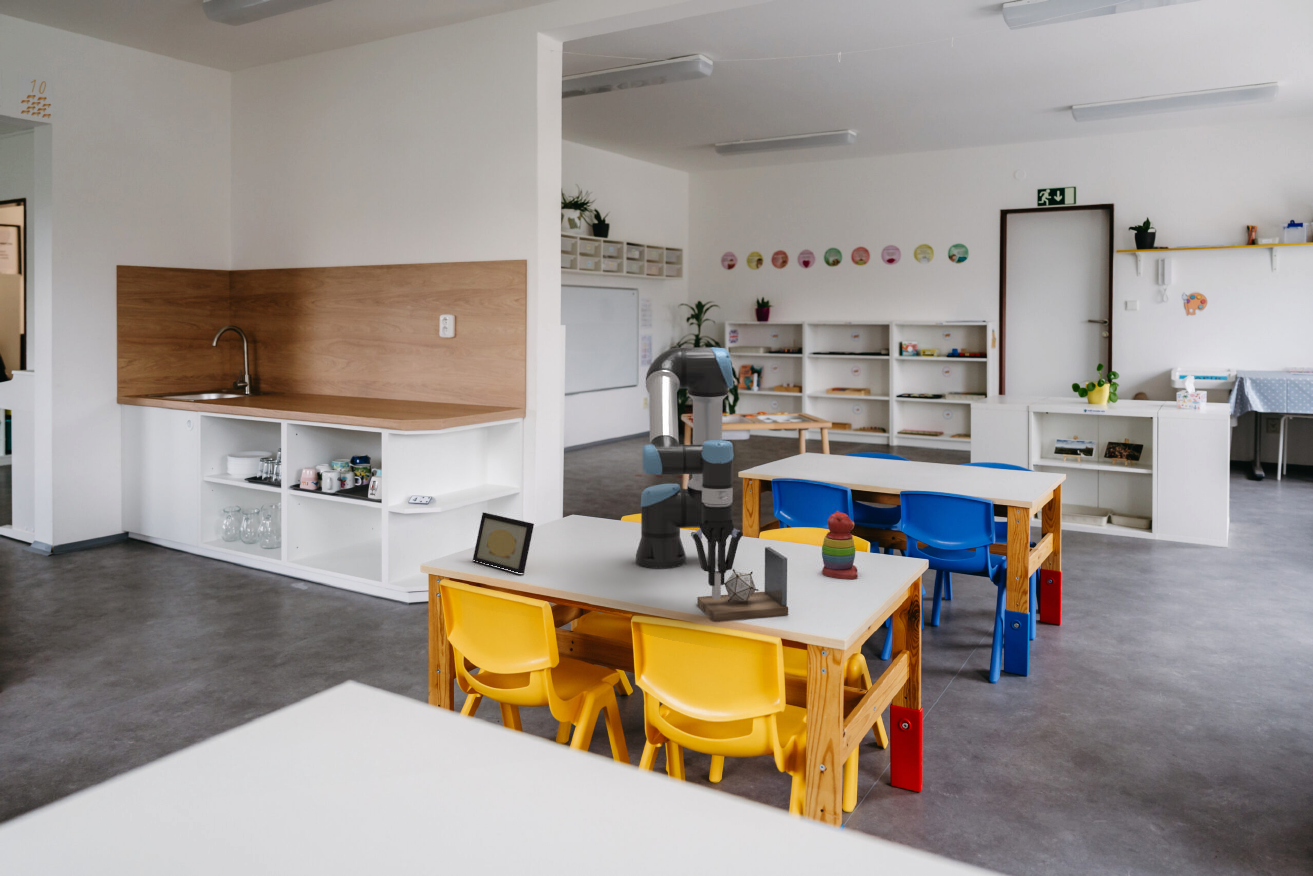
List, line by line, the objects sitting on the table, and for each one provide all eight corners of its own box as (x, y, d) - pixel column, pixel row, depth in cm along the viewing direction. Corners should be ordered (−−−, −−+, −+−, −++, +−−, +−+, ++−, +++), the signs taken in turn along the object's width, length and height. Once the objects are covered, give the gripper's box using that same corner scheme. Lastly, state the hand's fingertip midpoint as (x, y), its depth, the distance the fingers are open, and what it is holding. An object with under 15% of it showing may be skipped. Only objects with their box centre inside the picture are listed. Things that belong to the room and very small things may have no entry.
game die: (732, 614, 226) (717, 578, 230) (763, 603, 227) (748, 567, 231) (731, 607, 218) (716, 569, 222) (763, 595, 219) (748, 558, 222)
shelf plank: (697, 604, 230) (697, 597, 229) (767, 598, 234) (767, 591, 234) (714, 621, 216) (714, 613, 216) (788, 615, 221) (788, 607, 221)
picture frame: (472, 562, 273) (475, 512, 272) (495, 559, 279) (499, 511, 279) (520, 576, 257) (523, 523, 256) (544, 573, 264) (547, 522, 263)
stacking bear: (857, 580, 251) (859, 517, 249) (821, 578, 253) (822, 516, 251) (857, 569, 262) (858, 509, 260) (821, 568, 264) (822, 508, 262)
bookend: (764, 592, 233) (764, 547, 231) (768, 592, 233) (769, 546, 232) (782, 606, 221) (782, 558, 220) (786, 606, 222) (787, 558, 220)
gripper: (695, 508, 215) (695, 604, 218) (747, 505, 218) (746, 600, 221) (687, 502, 222) (686, 595, 225) (737, 500, 225) (736, 592, 228)
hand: (716, 598), depth 223 cm, fingers closed
